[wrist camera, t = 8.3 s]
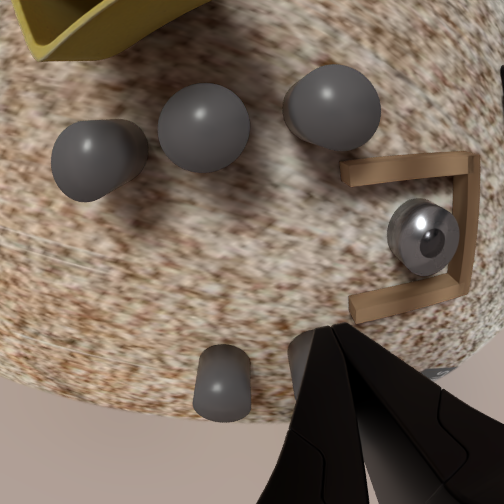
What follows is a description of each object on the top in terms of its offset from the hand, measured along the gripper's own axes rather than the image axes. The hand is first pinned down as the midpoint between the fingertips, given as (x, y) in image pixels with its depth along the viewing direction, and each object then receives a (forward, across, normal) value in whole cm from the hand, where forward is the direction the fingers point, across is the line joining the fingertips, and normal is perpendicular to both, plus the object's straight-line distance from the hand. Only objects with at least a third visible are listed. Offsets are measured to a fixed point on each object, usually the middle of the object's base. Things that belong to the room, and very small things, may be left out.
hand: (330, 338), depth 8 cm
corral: (+12, -8, +3) cm, 15 cm away
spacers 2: (+12, +2, +12) cm, 17 cm away
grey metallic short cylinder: (+12, -9, +3) cm, 16 cm away
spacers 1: (+12, +3, -6) cm, 14 cm away
